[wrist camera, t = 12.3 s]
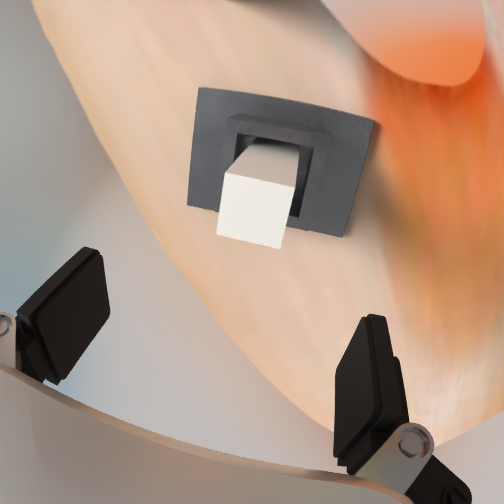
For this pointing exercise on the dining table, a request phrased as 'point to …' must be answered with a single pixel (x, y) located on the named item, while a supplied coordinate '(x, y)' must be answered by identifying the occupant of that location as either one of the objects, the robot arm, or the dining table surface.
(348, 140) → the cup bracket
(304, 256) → the dining table surface
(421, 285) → the dining table surface
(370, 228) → the dining table surface
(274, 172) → the rail post
